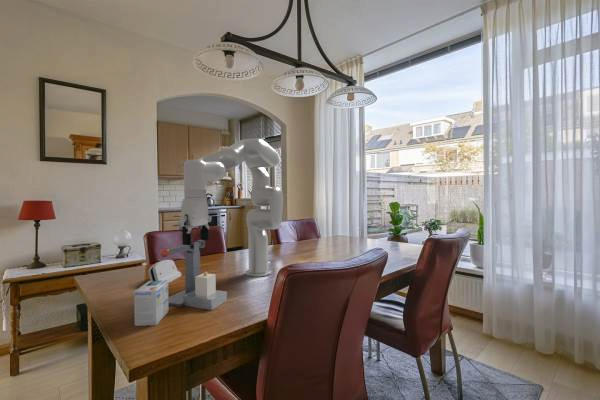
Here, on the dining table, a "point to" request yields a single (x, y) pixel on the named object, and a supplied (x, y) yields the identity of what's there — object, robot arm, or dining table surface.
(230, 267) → the dining table surface
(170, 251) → the lever
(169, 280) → the white slotted curved casing
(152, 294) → the light bulb box
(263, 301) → the dining table surface
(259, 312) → the dining table surface
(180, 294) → the frame
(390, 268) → the dining table surface
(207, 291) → the block
